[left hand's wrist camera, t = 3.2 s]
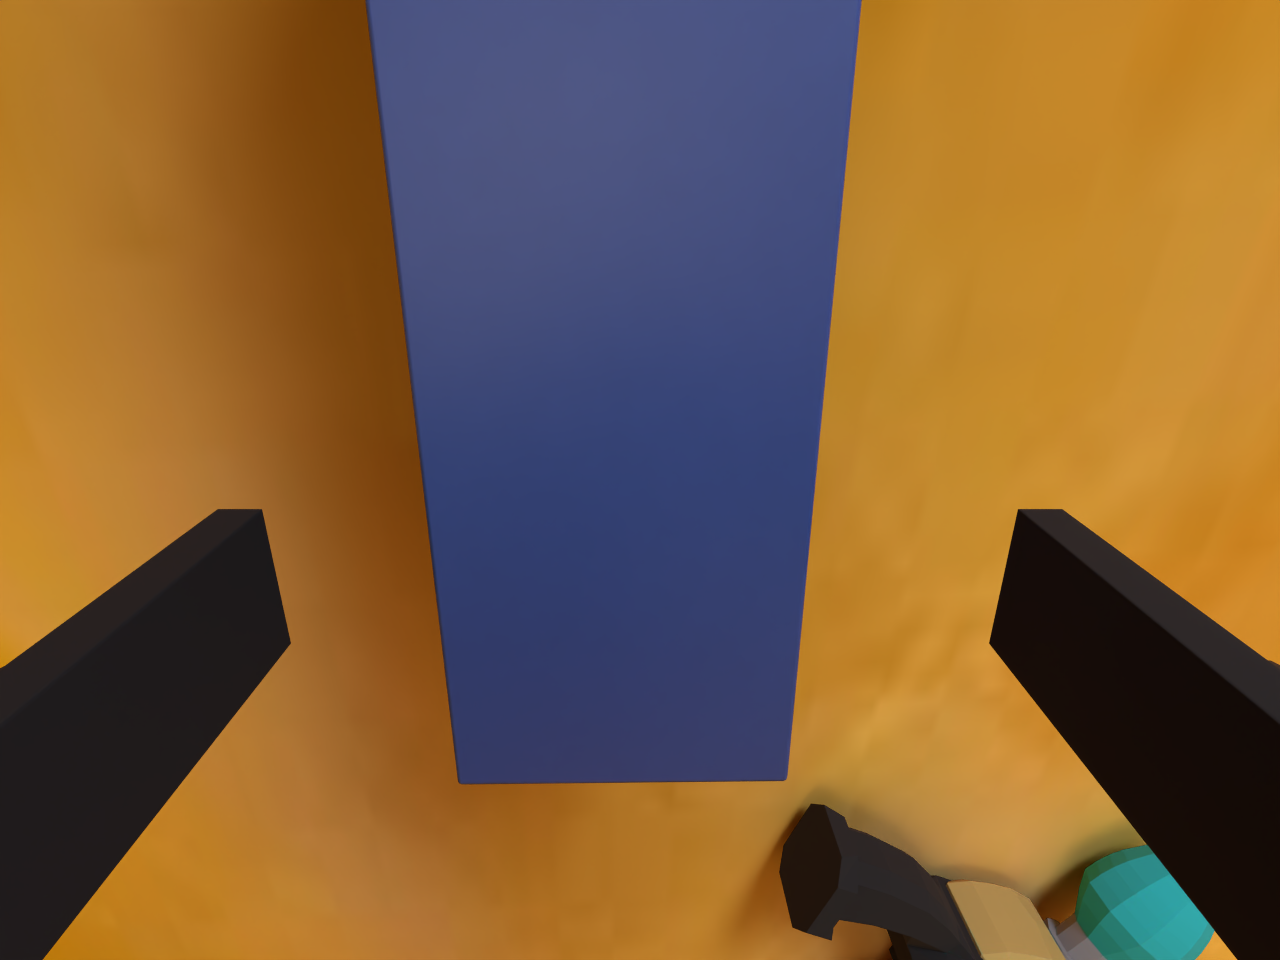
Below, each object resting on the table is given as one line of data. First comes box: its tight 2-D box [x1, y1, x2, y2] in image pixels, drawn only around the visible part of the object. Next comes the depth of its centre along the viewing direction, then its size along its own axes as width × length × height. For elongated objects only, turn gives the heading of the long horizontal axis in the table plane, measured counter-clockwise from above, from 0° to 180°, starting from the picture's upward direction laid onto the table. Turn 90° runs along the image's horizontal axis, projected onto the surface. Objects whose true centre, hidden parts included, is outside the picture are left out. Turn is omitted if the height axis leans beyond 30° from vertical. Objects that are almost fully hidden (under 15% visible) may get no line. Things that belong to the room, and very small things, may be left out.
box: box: [365, 0, 862, 784], centre depth 14 cm, size 24×6×12 cm, turn 0°
